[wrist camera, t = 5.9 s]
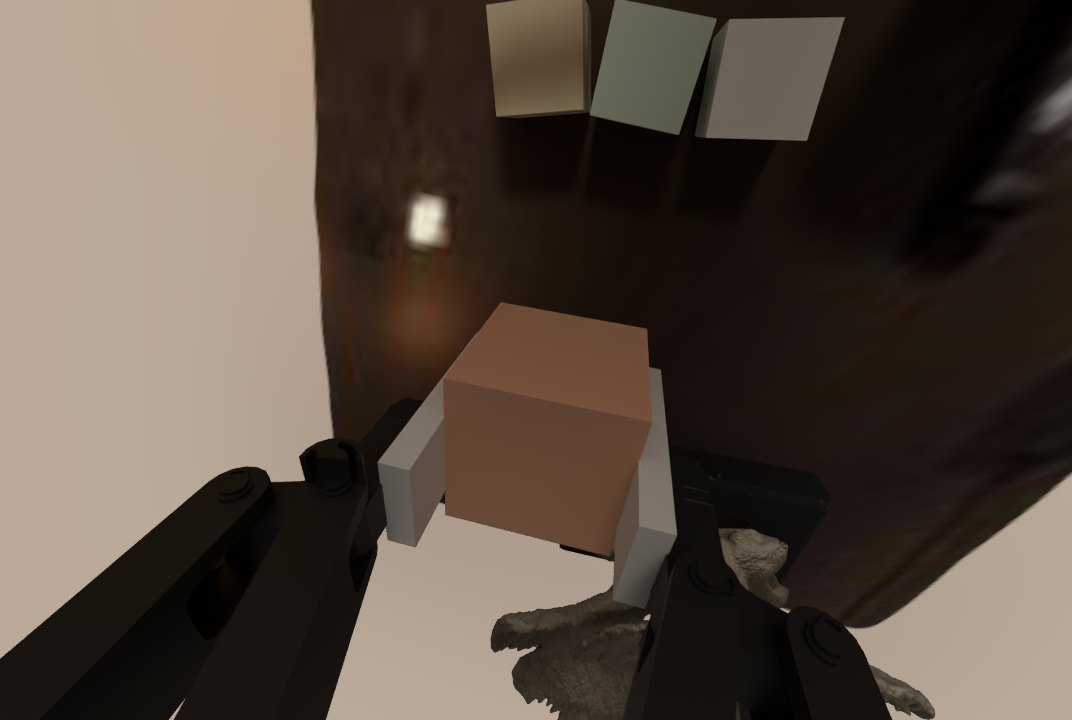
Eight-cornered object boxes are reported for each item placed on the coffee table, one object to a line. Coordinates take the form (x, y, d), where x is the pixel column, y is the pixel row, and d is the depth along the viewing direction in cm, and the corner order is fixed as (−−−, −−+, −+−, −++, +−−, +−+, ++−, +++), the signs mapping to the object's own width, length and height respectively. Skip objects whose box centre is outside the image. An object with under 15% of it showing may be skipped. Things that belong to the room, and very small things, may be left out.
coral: (533, 513, 47) (468, 759, 29) (557, 360, 37) (479, 593, 18) (761, 570, 44) (851, 887, 25) (857, 421, 33) (1127, 774, 15)
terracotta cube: (500, 302, 14) (443, 378, 10) (647, 328, 14) (652, 422, 9) (493, 415, 17) (445, 514, 12) (616, 442, 16) (609, 556, 12)
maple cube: (510, 25, 26) (486, 4, 21) (591, 14, 25) (582, -9, 20) (517, 118, 28) (496, 116, 24) (591, 112, 27) (583, 109, 23)
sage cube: (618, 21, 24) (615, -2, 20) (702, 38, 24) (716, 18, 20) (596, 117, 27) (589, 114, 23) (671, 133, 27) (678, 134, 22)
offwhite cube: (712, 39, 24) (729, 19, 20) (806, 38, 23) (844, 17, 19) (694, 136, 26) (705, 137, 22) (777, 139, 26) (806, 140, 21)
